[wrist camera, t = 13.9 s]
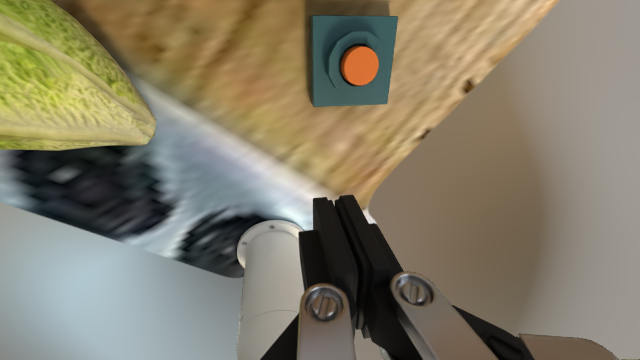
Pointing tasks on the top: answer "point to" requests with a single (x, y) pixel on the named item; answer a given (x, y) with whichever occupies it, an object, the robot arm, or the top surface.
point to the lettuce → (62, 84)
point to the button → (359, 65)
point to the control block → (329, 48)
